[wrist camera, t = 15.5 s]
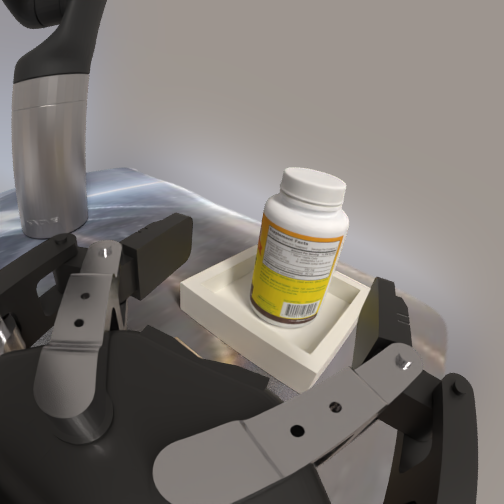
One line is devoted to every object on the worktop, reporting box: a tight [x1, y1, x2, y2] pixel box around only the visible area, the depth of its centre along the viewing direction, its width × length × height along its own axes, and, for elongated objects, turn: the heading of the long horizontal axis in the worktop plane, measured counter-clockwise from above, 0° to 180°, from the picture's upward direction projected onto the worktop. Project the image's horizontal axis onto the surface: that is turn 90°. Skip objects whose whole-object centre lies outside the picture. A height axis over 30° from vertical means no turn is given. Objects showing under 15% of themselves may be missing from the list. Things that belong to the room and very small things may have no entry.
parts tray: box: [180, 244, 371, 394], centre depth 22 cm, size 11×11×2 cm
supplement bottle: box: [250, 167, 349, 328], centre depth 19 cm, size 6×6×10 cm
